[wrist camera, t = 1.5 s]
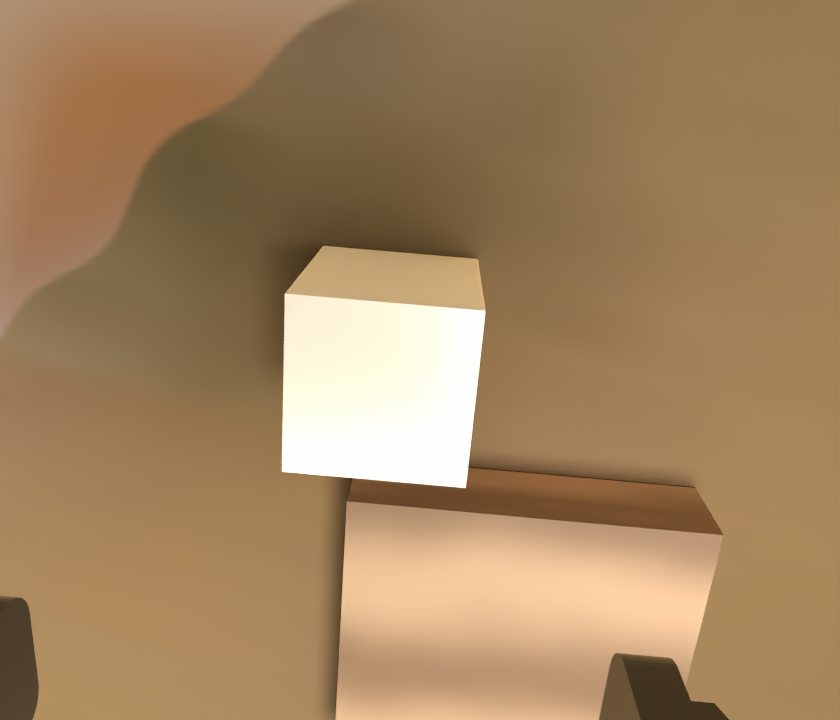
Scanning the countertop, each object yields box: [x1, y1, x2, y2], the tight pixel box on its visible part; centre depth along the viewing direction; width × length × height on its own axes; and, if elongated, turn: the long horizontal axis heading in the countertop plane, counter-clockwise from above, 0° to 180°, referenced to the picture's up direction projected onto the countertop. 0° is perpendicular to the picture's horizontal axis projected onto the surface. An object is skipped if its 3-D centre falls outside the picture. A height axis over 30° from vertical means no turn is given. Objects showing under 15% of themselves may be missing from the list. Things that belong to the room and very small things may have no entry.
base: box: [336, 468, 724, 720], centre depth 27 cm, size 12×12×3 cm
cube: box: [282, 246, 486, 488], centre depth 22 cm, size 5×5×6 cm
